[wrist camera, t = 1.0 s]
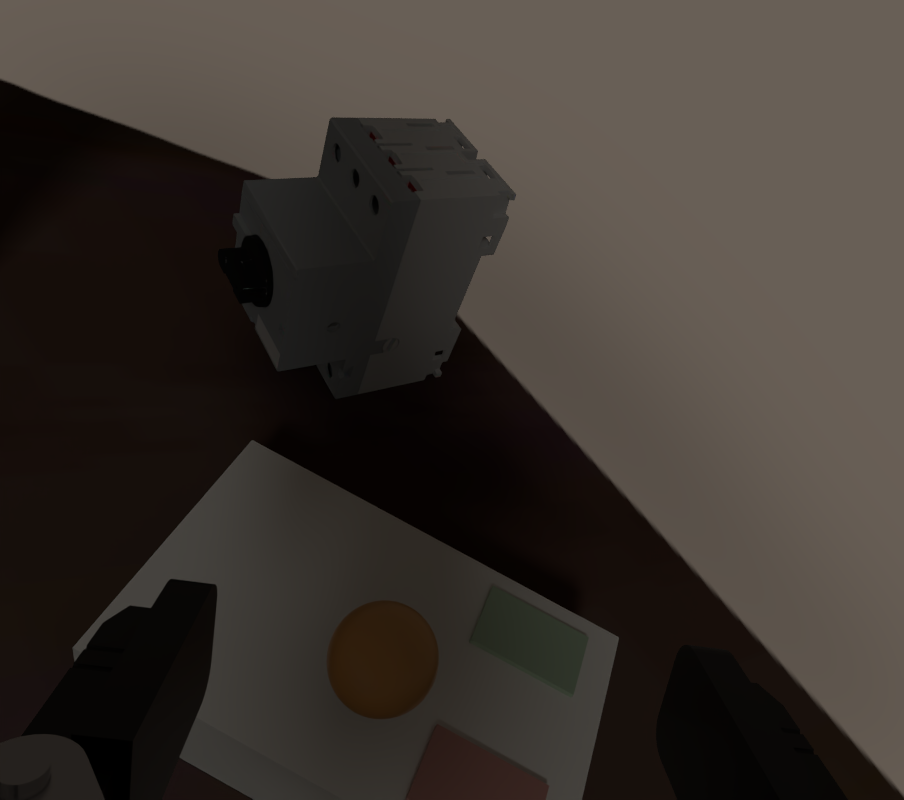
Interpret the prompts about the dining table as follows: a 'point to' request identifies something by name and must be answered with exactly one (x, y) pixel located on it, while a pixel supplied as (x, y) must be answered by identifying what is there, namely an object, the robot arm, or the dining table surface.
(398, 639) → the breaker lever
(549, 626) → the box
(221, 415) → the dining table surface
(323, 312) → the circuit breaker
